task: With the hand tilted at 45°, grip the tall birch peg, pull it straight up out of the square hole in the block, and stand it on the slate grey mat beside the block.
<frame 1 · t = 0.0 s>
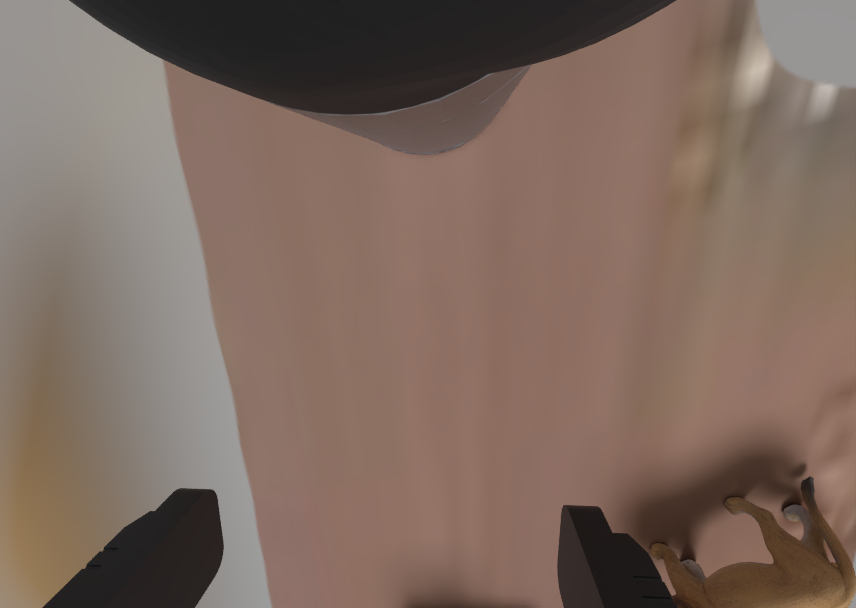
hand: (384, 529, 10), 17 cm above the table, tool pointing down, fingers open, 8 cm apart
lion figurine: (708, 539, 30), on the table
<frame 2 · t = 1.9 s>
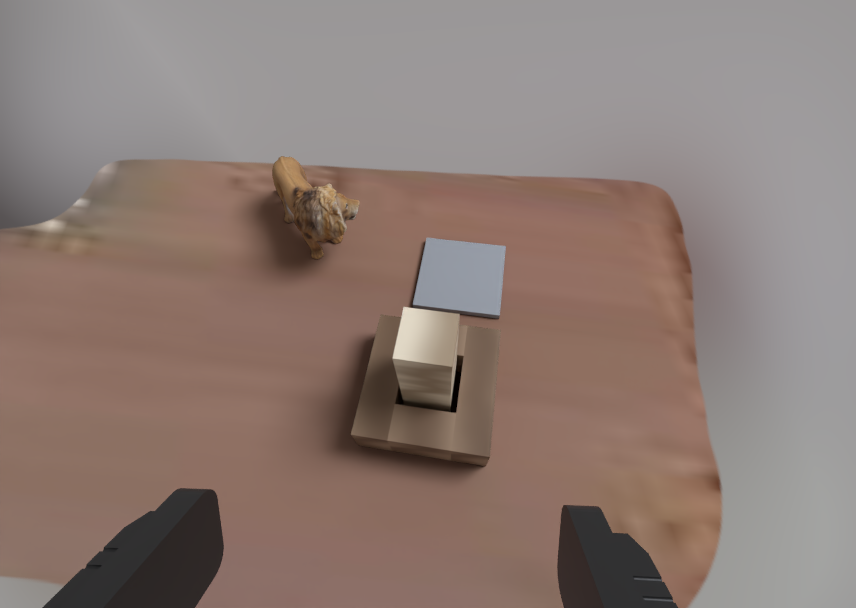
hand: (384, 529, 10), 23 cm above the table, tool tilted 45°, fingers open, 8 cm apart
lion figurine: (320, 229, 46), on the table
socket block: (431, 394, 36), on the table
birch peg: (429, 369, 31), in the socket block
slate mat: (460, 277, 42), on the table
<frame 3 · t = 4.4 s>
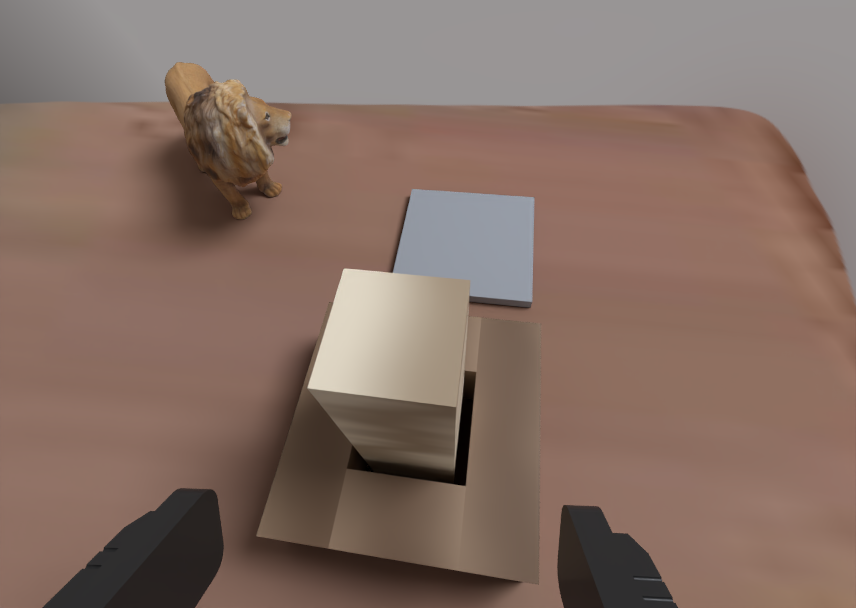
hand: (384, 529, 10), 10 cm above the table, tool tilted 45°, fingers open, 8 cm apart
lion figurine: (250, 179, 31), on the table
socket block: (420, 439, 20), on the table
birch peg: (411, 401, 16), in the socket block
slate mat: (465, 246, 26), on the table
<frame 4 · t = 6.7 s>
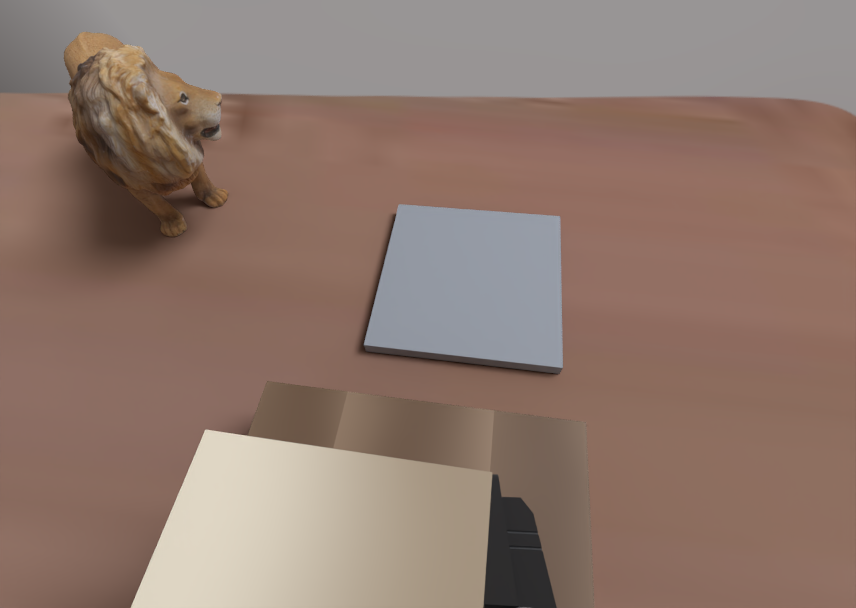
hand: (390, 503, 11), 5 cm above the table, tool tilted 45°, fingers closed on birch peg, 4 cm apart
lion figurine: (190, 185, 24), on the table
socket block: (401, 588, 14), on the table
birch peg: (377, 599, 9), in the socket block, touching gripper
slate mat: (469, 282, 20), on the table
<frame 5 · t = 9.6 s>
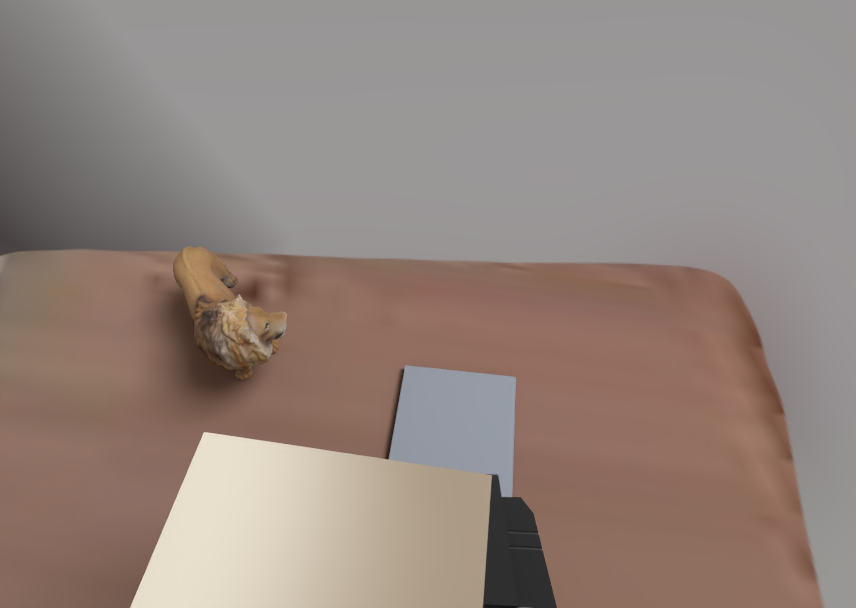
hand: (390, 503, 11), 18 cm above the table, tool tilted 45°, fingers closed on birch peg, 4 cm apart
lion figurine: (250, 333, 34), on the table
birch peg: (377, 601, 9), point 19 cm above the table, touching gripper
slate mat: (454, 428, 29), on the table
when the fingers open (6 cm above the table, at t = 12.8 s): birch peg drops 1 cm, resting on slate mat.
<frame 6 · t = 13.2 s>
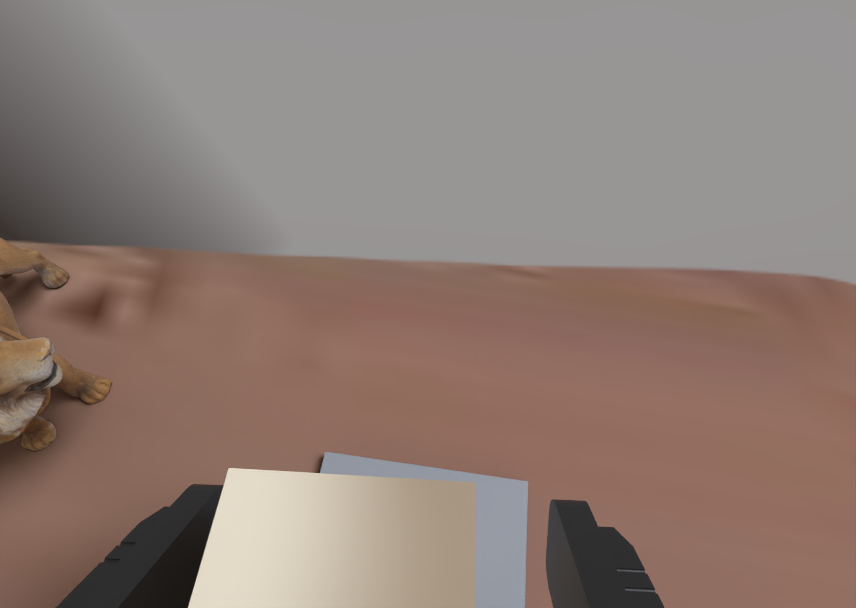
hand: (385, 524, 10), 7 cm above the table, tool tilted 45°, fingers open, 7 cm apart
lion figurine: (71, 365, 21), on the table
birch peg: (386, 601, 10), on the slate mat, point 6 cm above the table
slate mat: (407, 587, 15), on the table
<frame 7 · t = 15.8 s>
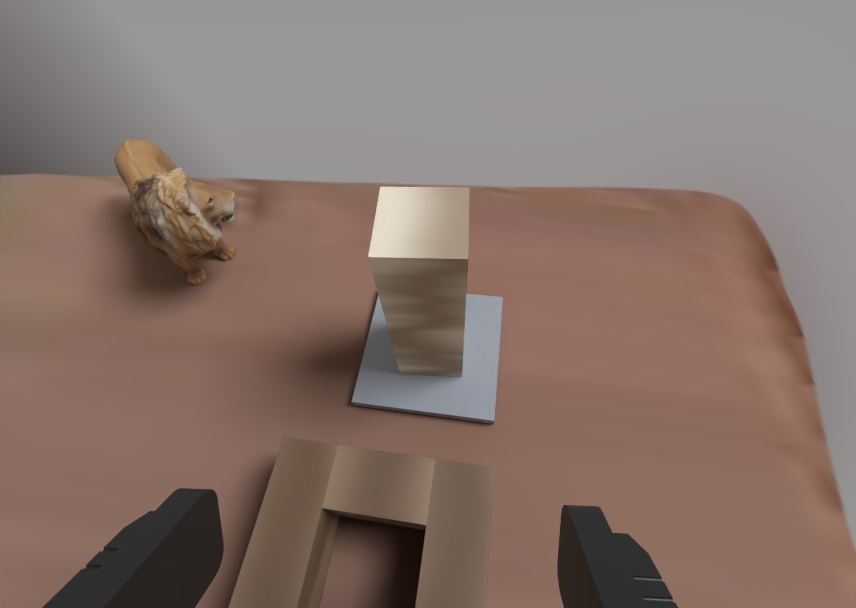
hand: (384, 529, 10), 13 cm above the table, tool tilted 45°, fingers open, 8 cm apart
lion figurine: (205, 242, 32), on the table
socket block: (374, 577, 20), on the table
birch peg: (428, 298, 21), on the slate mat, point 6 cm above the table
slate mat: (432, 350, 26), on the table
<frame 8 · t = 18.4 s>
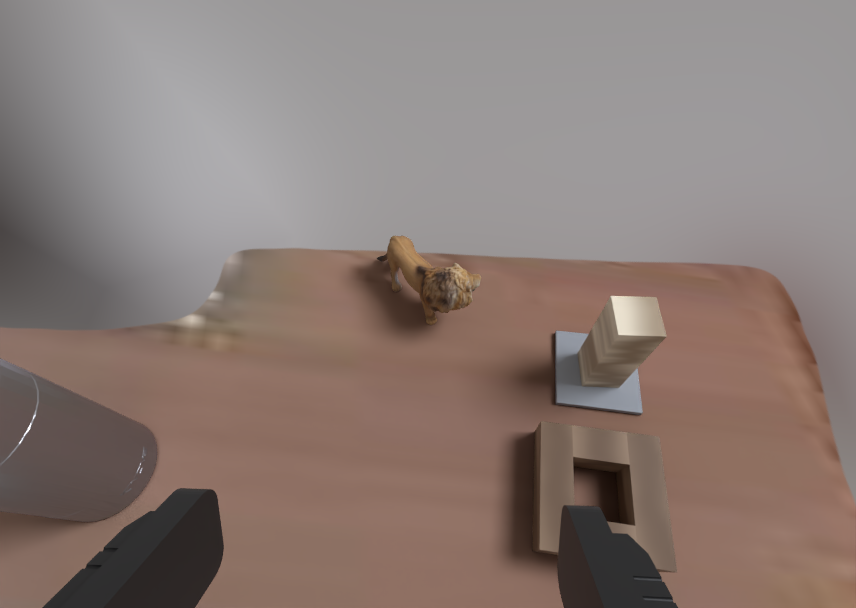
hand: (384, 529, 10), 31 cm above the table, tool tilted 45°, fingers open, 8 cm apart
lion figurine: (426, 295, 50), on the table
socket block: (591, 496, 38), on the table
birch peg: (615, 346, 39), on the slate mat, point 6 cm above the table
slate mat: (595, 371, 44), on the table
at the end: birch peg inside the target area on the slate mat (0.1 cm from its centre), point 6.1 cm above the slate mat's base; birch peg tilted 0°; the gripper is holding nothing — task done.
